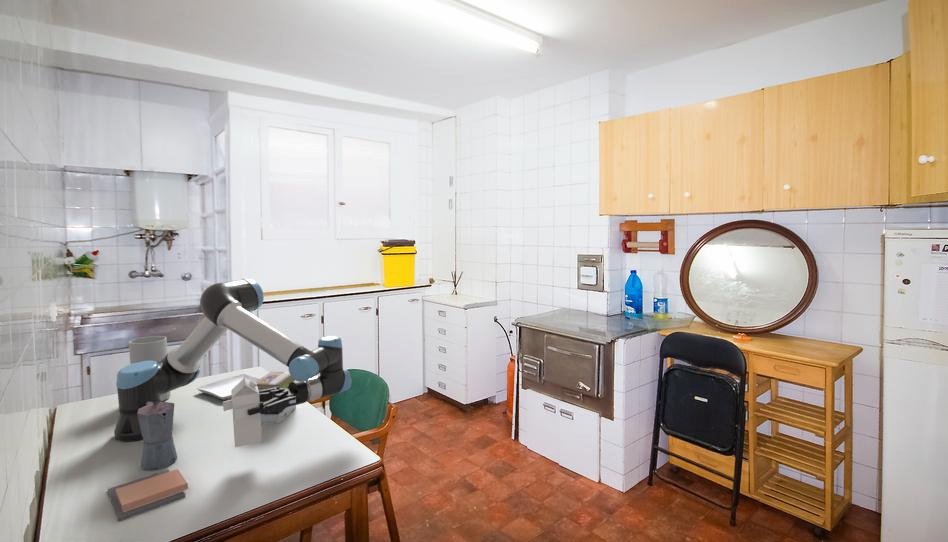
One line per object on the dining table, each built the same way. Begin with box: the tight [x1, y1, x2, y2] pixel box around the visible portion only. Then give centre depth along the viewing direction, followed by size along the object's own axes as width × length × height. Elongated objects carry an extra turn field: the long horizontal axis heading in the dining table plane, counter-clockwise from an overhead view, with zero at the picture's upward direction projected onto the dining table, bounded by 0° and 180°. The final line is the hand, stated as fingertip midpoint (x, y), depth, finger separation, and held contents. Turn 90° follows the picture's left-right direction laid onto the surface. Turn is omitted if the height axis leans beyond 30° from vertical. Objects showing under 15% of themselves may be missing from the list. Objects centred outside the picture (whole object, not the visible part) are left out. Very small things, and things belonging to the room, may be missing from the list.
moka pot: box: [137, 399, 178, 471], centre depth 138 cm, size 10×15×20 cm, turn 58°
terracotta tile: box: [115, 468, 189, 512], centre depth 122 cm, size 10×2×14 cm
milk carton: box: [231, 375, 263, 448], centre depth 137 cm, size 7×7×19 cm
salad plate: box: [196, 373, 260, 401], centre depth 199 cm, size 21×21×3 cm
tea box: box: [256, 371, 297, 424], centre depth 173 cm, size 15×10×15 cm, turn 179°
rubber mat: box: [106, 469, 186, 522], centre depth 123 cm, size 18×14×1 cm
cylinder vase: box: [128, 335, 171, 402], centre depth 188 cm, size 12×12×25 cm
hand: (229, 410), depth 134 cm, fingers closed on milk carton, 9 cm apart
